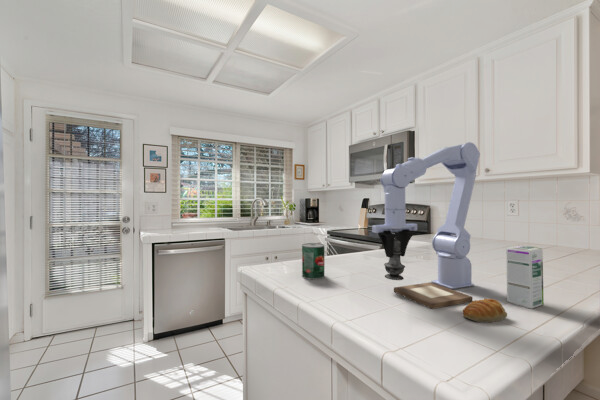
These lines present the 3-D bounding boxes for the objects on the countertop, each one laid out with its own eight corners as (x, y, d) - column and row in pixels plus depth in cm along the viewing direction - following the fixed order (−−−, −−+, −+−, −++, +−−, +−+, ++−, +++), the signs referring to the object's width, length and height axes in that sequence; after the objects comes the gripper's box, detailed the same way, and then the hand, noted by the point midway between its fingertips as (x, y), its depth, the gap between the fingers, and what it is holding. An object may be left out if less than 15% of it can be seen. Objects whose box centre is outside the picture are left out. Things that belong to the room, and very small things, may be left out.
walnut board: (430, 286, 89) (430, 281, 89) (472, 301, 76) (472, 296, 76) (393, 291, 84) (393, 287, 84) (431, 308, 71) (431, 303, 71)
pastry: (482, 327, 61) (482, 309, 61) (454, 316, 67) (453, 299, 67) (509, 319, 65) (509, 302, 65) (480, 309, 71) (480, 294, 71)
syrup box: (532, 309, 70) (532, 250, 70) (505, 301, 75) (505, 246, 75) (544, 305, 73) (544, 248, 73) (517, 298, 78) (517, 244, 78)
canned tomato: (325, 279, 97) (325, 246, 97) (302, 279, 97) (301, 246, 97) (323, 273, 105) (323, 243, 105) (302, 273, 105) (302, 243, 105)
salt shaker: (405, 281, 80) (407, 238, 80) (383, 279, 82) (385, 237, 81) (403, 275, 86) (405, 235, 86) (383, 273, 87) (384, 234, 87)
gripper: (405, 208, 90) (405, 252, 90) (365, 209, 85) (366, 255, 85) (422, 209, 83) (422, 256, 83) (380, 210, 78) (380, 260, 78)
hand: (395, 256), depth 84 cm, fingers closed on salt shaker, 4 cm apart
